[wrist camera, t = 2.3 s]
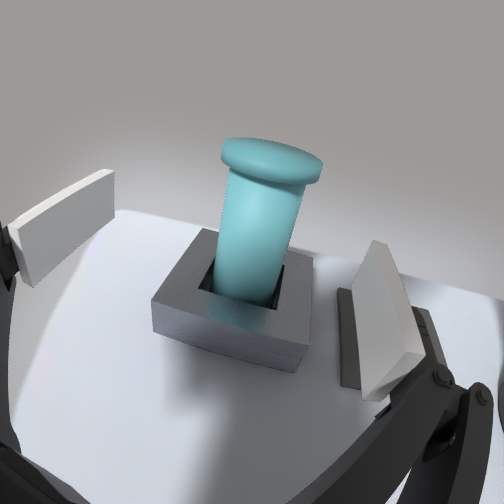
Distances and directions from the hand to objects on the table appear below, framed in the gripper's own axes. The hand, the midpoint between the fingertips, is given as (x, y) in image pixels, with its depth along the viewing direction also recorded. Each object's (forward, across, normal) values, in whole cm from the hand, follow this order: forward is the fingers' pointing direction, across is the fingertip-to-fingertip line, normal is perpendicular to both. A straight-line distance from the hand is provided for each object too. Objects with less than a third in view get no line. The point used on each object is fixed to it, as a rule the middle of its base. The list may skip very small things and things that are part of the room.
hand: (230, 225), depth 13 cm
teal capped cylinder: (+10, +1, -14) cm, 17 cm away
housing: (+10, +1, -14) cm, 17 cm away
